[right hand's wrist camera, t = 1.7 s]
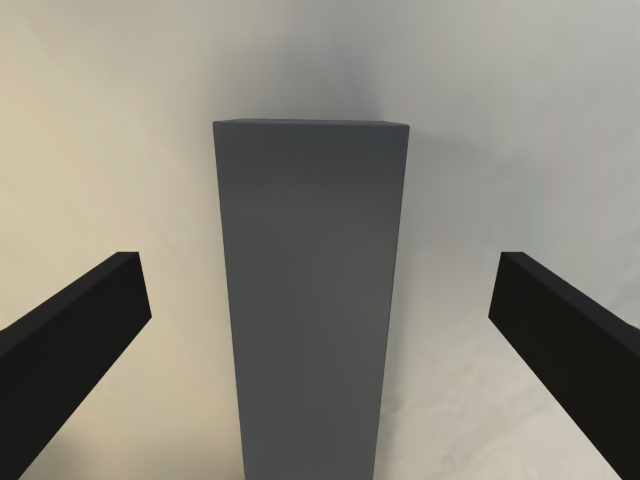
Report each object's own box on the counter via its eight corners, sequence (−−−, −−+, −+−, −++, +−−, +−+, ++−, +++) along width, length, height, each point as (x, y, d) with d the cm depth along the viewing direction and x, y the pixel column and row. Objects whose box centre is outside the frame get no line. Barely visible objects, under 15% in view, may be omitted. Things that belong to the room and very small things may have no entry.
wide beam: (243, 118, 22) (211, 121, 16) (383, 120, 23) (410, 124, 16) (270, 572, 41) (261, 660, 34) (348, 573, 41) (353, 661, 34)
